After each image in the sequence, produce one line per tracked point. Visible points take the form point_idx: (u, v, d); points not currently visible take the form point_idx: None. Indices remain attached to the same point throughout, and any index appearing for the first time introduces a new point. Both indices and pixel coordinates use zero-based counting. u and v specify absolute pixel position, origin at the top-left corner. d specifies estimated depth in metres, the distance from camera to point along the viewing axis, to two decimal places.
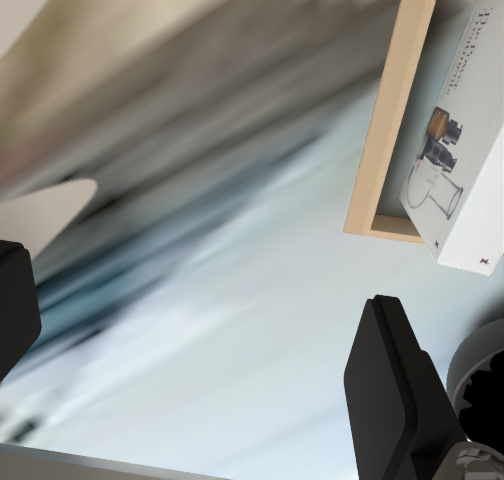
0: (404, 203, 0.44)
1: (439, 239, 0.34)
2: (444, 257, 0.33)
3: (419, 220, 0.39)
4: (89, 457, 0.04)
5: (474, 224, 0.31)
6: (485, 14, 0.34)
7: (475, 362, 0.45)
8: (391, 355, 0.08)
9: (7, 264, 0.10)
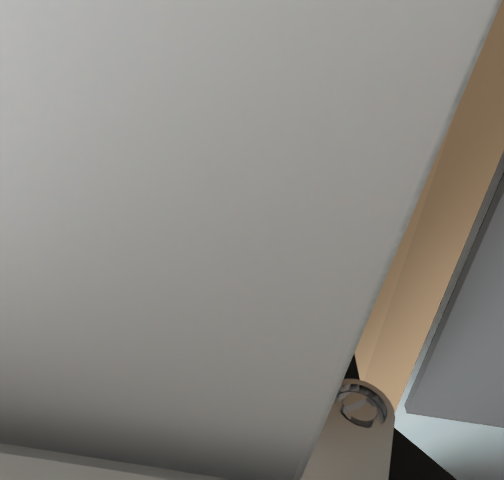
0: None
1: None
2: None
3: None
4: (89, 457, 0.04)
5: None
6: None
7: None
8: None
9: None
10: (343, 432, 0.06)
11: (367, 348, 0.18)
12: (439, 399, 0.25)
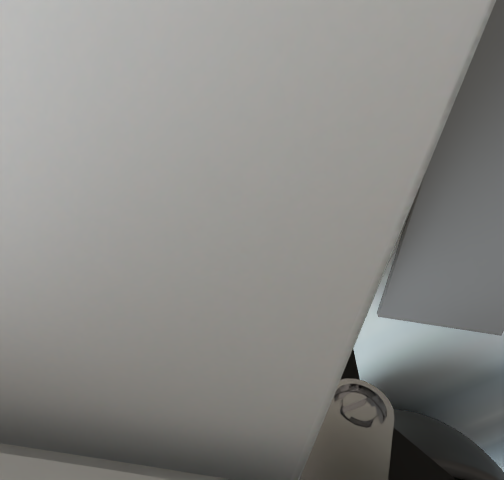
0: None
1: None
2: None
3: None
4: (88, 457, 0.04)
5: None
6: None
7: None
8: None
9: None
10: (343, 432, 0.06)
11: None
12: (400, 304, 0.35)
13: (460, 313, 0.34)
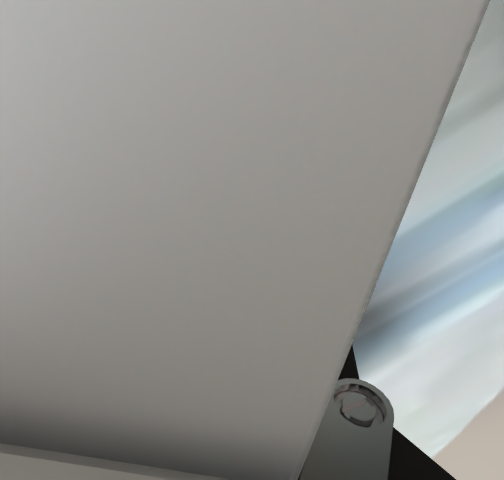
0: None
1: None
2: None
3: None
4: (89, 457, 0.04)
5: None
6: None
7: None
8: None
9: None
10: (342, 432, 0.06)
11: None
12: None
13: None
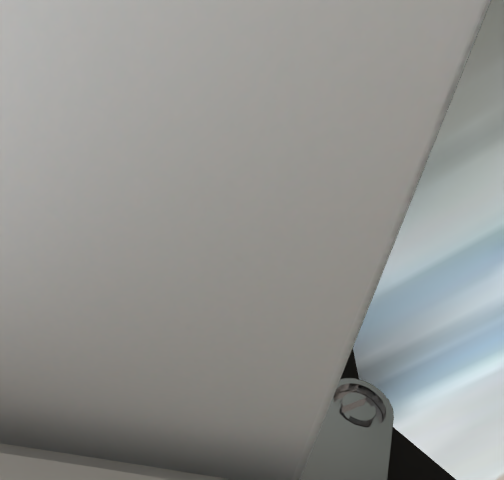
0: None
1: None
2: None
3: None
4: (89, 457, 0.04)
5: None
6: None
7: None
8: None
9: None
10: (342, 432, 0.06)
11: None
12: None
13: None
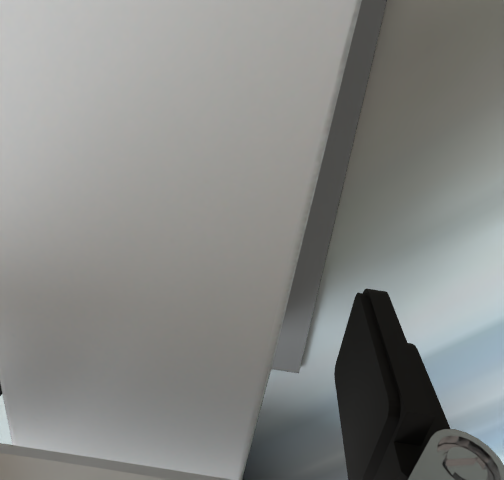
0: None
1: None
2: None
3: None
4: (89, 457, 0.04)
5: None
6: None
7: None
8: (377, 347, 0.08)
9: None
10: None
11: None
12: None
13: None
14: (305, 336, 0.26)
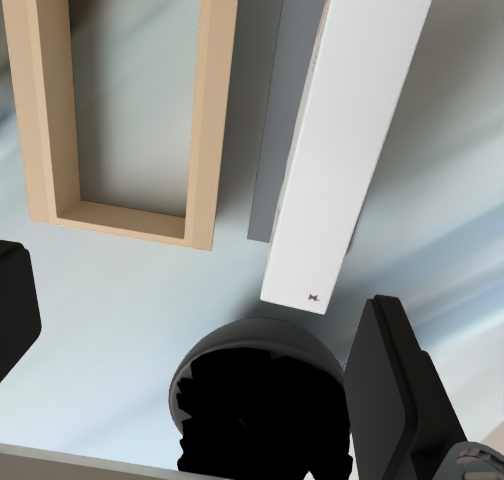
0: None
1: (265, 270, 0.28)
2: (267, 293, 0.27)
3: None
4: (89, 457, 0.04)
5: (291, 254, 0.26)
6: None
7: (178, 369, 0.40)
8: (391, 355, 0.08)
9: (7, 264, 0.10)
10: None
11: (194, 166, 0.36)
12: (263, 228, 0.42)
13: None
14: None
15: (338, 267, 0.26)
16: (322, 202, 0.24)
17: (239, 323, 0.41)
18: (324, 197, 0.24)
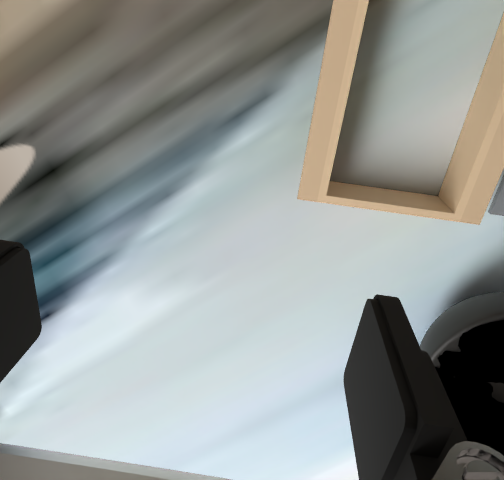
0: None
1: None
2: None
3: None
4: (89, 457, 0.04)
5: None
6: None
7: (443, 342, 0.41)
8: (391, 355, 0.08)
9: (7, 264, 0.10)
10: None
11: (489, 139, 0.36)
12: None
13: None
14: None
15: None
16: None
17: (496, 296, 0.42)
18: None
